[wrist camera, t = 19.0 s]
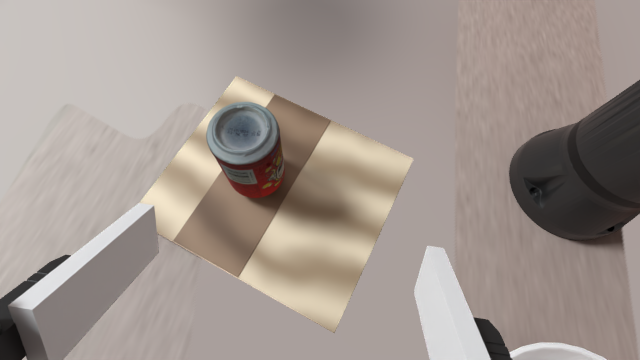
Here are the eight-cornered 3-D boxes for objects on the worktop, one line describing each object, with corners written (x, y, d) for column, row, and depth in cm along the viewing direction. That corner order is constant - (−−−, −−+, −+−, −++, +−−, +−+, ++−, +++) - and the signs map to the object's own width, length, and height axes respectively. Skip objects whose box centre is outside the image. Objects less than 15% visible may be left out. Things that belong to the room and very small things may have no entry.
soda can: (285, 202, 42) (277, 161, 30) (228, 202, 41) (198, 160, 30) (287, 152, 44) (279, 96, 33) (233, 151, 44) (207, 95, 32)
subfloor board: (238, 82, 50) (236, 75, 48) (410, 163, 46) (414, 158, 44) (134, 219, 42) (128, 216, 40) (333, 332, 38) (334, 333, 36)
